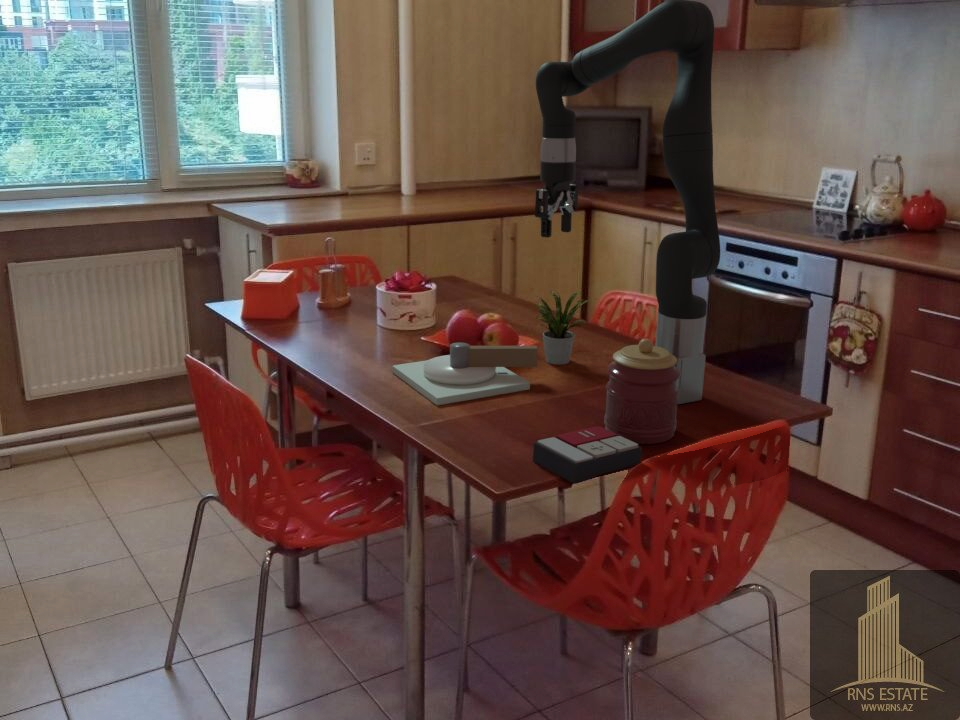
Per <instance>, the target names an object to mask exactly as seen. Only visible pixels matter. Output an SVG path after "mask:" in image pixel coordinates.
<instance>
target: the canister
mask: <svg viewBox="0 0 960 720" xmlns="http://www.w3.org/2000/svg"><path fill="white" fill-rule="evenodd" d="M612 358H613V360H614V361H612V362H611V363H609V365H608V366H607V367H606V370H607V372H608V374H609V381H608V382H607V383H606V385H605V388H606V401H605V402H606V403H605V404H606V405H605V414H604V417H603V419H604V422H603V423H604V425H605V427H604V429H606V430H608V431H611V432H613V433H615V434H617V436H621V437H624V438H626V439H628V440H630V441H632V442H634V443H637V444H638V445H654V444H655V445H656V444H661V443H664V442H667V441H669V440H671V439H672V438H674V436H675V431H676V429H677V424H678V423H677V412H678V410H677V409H678V404H677V401H678V394H679V388H678V387H677V379H678V378H679V377H680V376H681V372H680V370H679V369H678V368H677V367H676V366H675V364H676V363H677V358H676V357H675V356H674V355H672V354H671V353H669V351H668V350H666V349H664V348H661V347H657V346H656V345H654V343H653V340H651V339H650V338H642V339H641V340H639V342H638V344H630V345H627V346H624V347H623V348H621V349H619V350H617V351H615V352H614V353H613V355H612Z"/></svg>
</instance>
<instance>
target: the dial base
mask: <svg viewBox="0 0 960 720" xmlns="http://www.w3.org/2000/svg"><path fill="white" fill-rule="evenodd" d="M428 360H429V359H428ZM428 360H421V361H415V362H414V361H413V362H407V363H401V364H394V365H392V366H391V368H392V370H391V371H392V373H393V374H394V375H395V376H397V377H398V378H400V380H402V381H403V382H405V383H406V384H407V385H409V386H410V387H412V388H413V389H414V390H415V391H417V392H418V393H420V394H421V395H422V396H424V397H425V398H426V399H428V400H429V401H430V402H431V403H433V404H434V405H436V406H443V405H447V404H453V403H459V402H465V401H470V400H477V399H482V398H487V397H494V396H498V395H499V396H500V395H505V394H512V393H517V392H523V391H527V390H530V389H531V382H530V381H529V380H527V379H525V378H523V376H521V375H518V374H516V373H514V372H513V371H512V370H510V369H508V368H507V367H496V374H495V376H494V377H493V378H492V379H490V380H487V381H484V382H481V383H475V384H465V385H456V384H445V383H440V382H436V381H433V380H430V379H428V378H427V377H426V376H425V375H424V363H425V362H426V361H428Z"/></svg>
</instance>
